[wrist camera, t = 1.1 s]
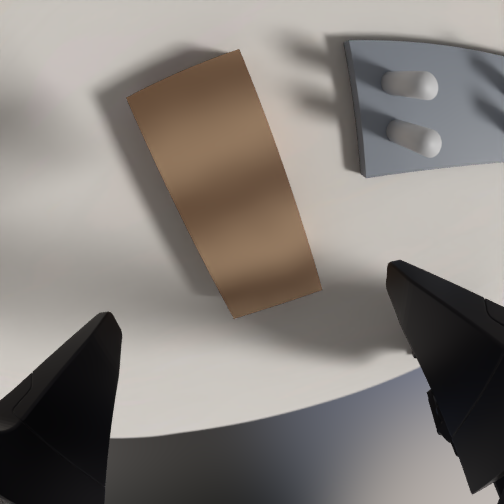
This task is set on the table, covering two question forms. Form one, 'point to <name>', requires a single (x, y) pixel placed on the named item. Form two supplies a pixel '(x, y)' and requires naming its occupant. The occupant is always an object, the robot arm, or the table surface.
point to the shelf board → (228, 182)
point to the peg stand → (425, 106)
